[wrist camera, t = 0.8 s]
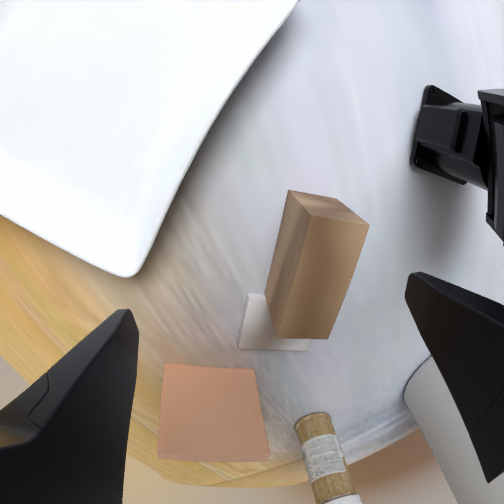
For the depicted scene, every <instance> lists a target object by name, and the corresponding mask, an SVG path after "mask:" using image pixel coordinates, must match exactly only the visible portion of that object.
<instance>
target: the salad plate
mask: <svg viewBox="0 0 504 504" xmlns="http://www.w3.org/2000/svg"><path fill="white" fill-rule="evenodd" d="M299 1H300V0H0V215H2V216H4V217H5V218H7V219H9V220H10V221H12V222H14V223H16V224H17V225H19V226H21V227H23V228H25V229H26V230H28V231H30V232H32V233H34V234H35V235H37V236H39V237H41V238H43V239H44V240H46V241H48V242H50V243H51V244H53V245H55V246H57V247H59V248H61V249H63V250H64V251H66V252H68V253H70V254H72V255H74V256H76V257H78V258H80V259H82V260H84V261H86V262H88V263H90V264H92V265H94V266H96V267H98V268H100V269H102V270H104V271H106V272H109V273H111V274H114V275H116V276H119V277H123V278H128V277H132V276H134V275H135V274H137V273H138V271H139V270H140V269H141V267H142V265H143V263H144V262H145V260H146V258H147V256H148V254H149V252H150V249H151V247H152V245H153V243H154V241H155V239H156V236H157V234H158V232H159V229H160V227H161V225H162V222H163V220H164V218H165V216H166V214H167V212H168V209H169V207H170V205H171V203H172V201H173V199H174V197H175V195H176V192H177V190H178V188H179V186H180V184H181V182H182V180H183V178H184V176H185V174H186V172H187V170H188V169H189V167H190V165H191V163H192V161H193V159H194V157H195V155H196V153H197V151H198V150H199V148H200V146H201V144H202V142H203V140H204V139H205V137H206V135H207V133H208V131H209V129H210V128H211V126H212V124H213V123H214V121H215V119H216V118H217V116H218V115H219V113H220V111H221V110H222V108H223V106H224V105H225V103H226V102H227V100H228V99H229V97H230V96H231V94H232V92H233V91H234V89H235V88H236V86H237V85H238V83H239V82H240V81H241V79H242V78H243V76H244V75H245V74H246V72H247V71H248V69H249V68H250V66H251V65H252V63H253V62H254V61H255V59H256V58H257V57H258V55H259V54H260V53H261V51H262V50H263V49H264V47H265V46H266V45H267V43H268V42H269V41H270V40H271V38H272V37H273V36H274V34H275V33H276V32H277V31H278V29H279V28H280V27H281V26H282V25H283V23H284V22H285V21H286V20H287V18H288V17H289V16H290V14H291V13H292V11H293V10H294V9H295V7H296V6H297V4H298V3H299Z"/></svg>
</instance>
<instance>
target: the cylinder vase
mask: <svg viewBox="0 0 504 504" xmlns="http://www.w3.org/2000/svg"><path fill="white" fill-rule="evenodd" d="M404 400H405V403H406V405H407V406H408V408H409V410H410V412H411V414H412V415H413V417H414V419H415V421H416V423H417V424H418V426H419V428H420V430H421V432H422V434H423V435H424V437H425V439H426V441H427V443H428V445H429V447H430V449H431V450H432V453H433V454H434V456H435V458H436V460H437V462H438V464H439V466H440V468H441V470H442V472H443V474H444V476H445V478H446V480H447V482H448V484H449V486H450V488H451V490H452V492H453V494H454V496H455V498H456V501H457V503H458V504H504V473H503V474H501V475H500V476H499V477H497V478H496V479H494V480H493V481H492V482H490V483H489V484H488V483H487V481H486V479H485V476H484V473H483V471H482V468H481V465H480V462H479V460H478V457H477V454H476V452H475V449H474V447H473V444H472V441H471V439H470V437H469V433H468V431H467V429H466V427H465V424H464V422H463V420H462V417H461V415H460V413H459V411H458V408H457V406H456V404H455V402H454V400H453V398H452V395H451V393H450V391H449V389H448V387H447V385H446V383H445V381H444V379H443V377H442V375H441V373H440V371H439V369H438V367H437V365H436V363H435V361H434V359H433V357H432V356H431V357H430V358H428V359H427V360H426V361H425V362H424V363H423V364H422V365H421V366H420V367H419V368H418V370H417V371H416V372H415V373H414V375H413V376H412V377H411V379H410V380H409V382H408V384H407V386H406V389H405V392H404Z"/></svg>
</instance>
